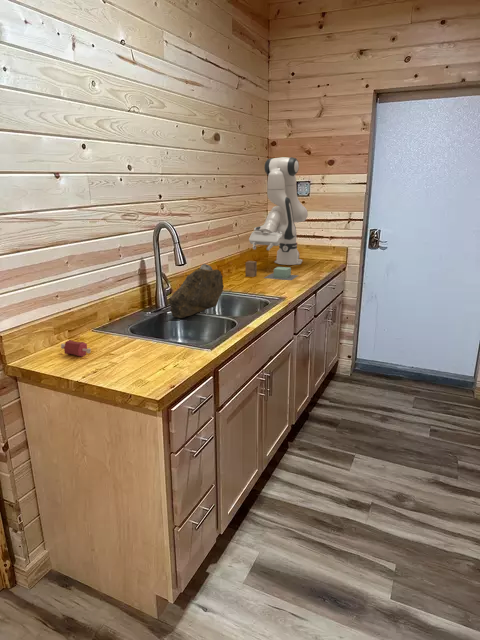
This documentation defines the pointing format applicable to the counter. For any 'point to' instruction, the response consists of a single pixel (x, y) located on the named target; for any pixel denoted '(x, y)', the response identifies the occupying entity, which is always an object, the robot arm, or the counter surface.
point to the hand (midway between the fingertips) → (260, 249)
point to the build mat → (281, 278)
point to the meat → (75, 348)
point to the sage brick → (282, 272)
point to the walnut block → (251, 268)
